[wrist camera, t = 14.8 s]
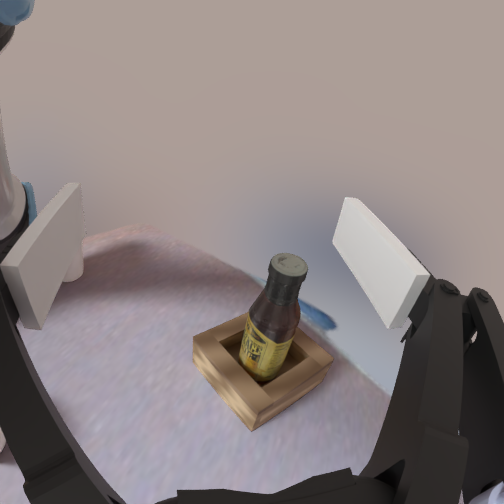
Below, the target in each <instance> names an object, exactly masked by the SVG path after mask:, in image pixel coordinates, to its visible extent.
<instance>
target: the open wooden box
mask: <svg viewBox="0 0 504 504" xmlns="http://www.w3.org/2000/svg"><path fill="white" fill-rule="evenodd" d="M248 313H249V312H247V313H245V314H243V315H241V316H239V317H236V318H234V319H232V320H230V321H227V322H225V323H223V324H221V325H218V326H216V327H214V328H212V329H209V330H207V331H205V332H202V333H200V334H198V335H196V336H193V363H194V364H195V366H196V367H197V368H198V369H199V371H200V372H201V373H202V374H203V376H204V377H205V378H206V379H207V381H208V382H209V383H210V384H211V386H212V387H213V388H214V389H215V390H216V392H217V393H218V394H219V395H220V396H221V398H222V399H223V400H224V401H225V402H226V404H227V405H228V406H229V407H230V408H231V409H232V411H233V412H234V413H235V414H236V415H237V416H238V417H239V418H240V420H241V421H242V422H243V423H244V424H245V425H246V426H247V427H248V429H249V430H250V431H251V432H252V431H253V430H255V429H256V428H258V427H259V426H261V425H262V424H264V423H265V422H267V421H268V420H270V419H271V418H273V417H274V416H276V415H277V414H279V413H280V412H282V411H283V410H284V409H286V408H287V407H289V406H290V405H291V404H293V403H294V402H296V401H297V400H298V399H300V398H301V397H302V396H304V395H305V394H306V393H308V392H309V391H310V390H312V389H313V388H314V387H316V386H317V385H318V384H320V383H321V382H322V380H323V378H324V377H325V375H326V373H327V371H328V369H329V368H330V366H331V364H332V362H333V360H334V358H333V357H332V356H331V355H329V354H328V353H327V352H326V351H325V350H324V349H322V348H321V347H320V346H319V345H318V344H317V343H315V342H314V341H313V340H312V339H311V338H310V337H308V336H307V335H306V334H305V333H304V332H303V331H301V330H300V329H299V328H298V327H297V328H296V332H295V335H294V338H293V340H292V343H291V345H290V347H289V350H288V352H287V355H286V357H285V360H284V362H283V364H282V367H281V369H280V371H279V373H278V375H277V377H276V378H275V379H273V380H272V381H271V382H269V383H267V384H262V385H260V384H257V383H256V382H255V381H254V380H253V379H252V378H251V377H250V376H249V375H248V374H247V373H246V371H245V370H244V369H243V368H242V367H241V366H240V365H239V364H238V358H239V353H240V349H241V344H242V339H243V335H244V330H245V326H246V322H247V317H248Z"/></svg>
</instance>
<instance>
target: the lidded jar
mask: <svg viewBox="0 0 504 504" xmlns="http://www.w3.org/2000/svg"><path fill="white" fill-rule="evenodd" d="M5 443H6V439H5V437H4V434H3V432H2V430H1V427H0V453H1V451H2V450H3V448H4V446H5Z"/></svg>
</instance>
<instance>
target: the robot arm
mask: <svg viewBox="0 0 504 504" xmlns="http://www.w3.org/2000/svg"><path fill="white" fill-rule="evenodd" d="M33 7H34V0H0V54H1V53H2V52H3V51H4V50H5V49H6V47H7V46H8V45H9V43H10V41H11V40H12V37H13V35H14V30H15V25H17V24H19V23H20V22H21V21H24V20H26V19H27V18H29V16H30V15H31V13H32V11H33ZM85 235H86V227H85V220H84V212H83V203H82V192H81V183H67V184H66V185H65V186H64V187H63V188H62V189H61V190H60V191H59V192H58V193H57V194H56V196H55V197H54V198H53V199H52V200H51V201H50V202H49V203H48V204H47V206H46V207H45V208H44V209H43V210H42V211H41V212H40V214H39V215H38V216H37V211H36V204H35V197H34V192H33V188H32V185H31V184H30V183H29V182H26V183H24V182H20V180H19V179H18V178H17V177H16V176H15V175H13V174H12V173H11V172H10V167H9V163H8V157H7V152H6V146H5V140H4V134H3V127H2V119H1V111H0V427H1V430H2V432H3V434H4V437H5V439H6V441H7V443H8V446H9V448H10V450H11V452H12V454H13V456H14V458H15V460H16V462H17V464H18V466H19V468H20V470H21V472H22V474H23V476H24V478H25V483H24V485H23V488H24V492H25V494H26V496H27V498H28V500H29V502H30V503H31V504H126V503H125V501H124V500H123V499H122V498H121V497H120V496H119V495H118V494H117V493H116V492H115V491H114V490H113V489H112V488H111V487H110V485H109V484H108V483H107V482H106V481H105V480H104V478H103V477H102V476H101V474H100V473H99V472H98V471H97V469H96V468H95V467H94V465H93V464H92V463H91V461H90V460H89V458H88V457H87V456H86V454H85V453H84V451H83V450H82V449H81V447H80V446H79V444H78V443H77V441H76V440H75V438H74V437H73V435H72V434H71V432H70V431H69V429H68V427H67V426H66V424H65V423H64V421H63V419H62V418H61V416H60V414H59V413H58V411H57V409H56V407H55V406H54V404H53V402H52V400H51V399H50V397H49V395H48V393H47V391H46V389H45V387H44V385H43V384H42V382H41V380H40V378H39V376H38V374H37V371H36V369H35V367H34V365H33V363H32V361H31V359H30V357H29V354H28V352H27V350H26V347H25V345H24V343H23V340H22V338H21V335H20V333H19V331H18V328H17V326H16V323H17V320H18V318H19V317H20V319H21V321H22V323H23V326H24V328H28V329H35V330H42V328H43V325H44V322H45V320H46V317H47V315H48V313H49V310H50V308H51V305H52V303H53V301H54V299H55V296H56V294H57V292H58V290H59V287H60V285H61V283H62V281H63V279H64V277H65V274H66V272H67V270H68V268H69V266H70V264H71V262H72V260H73V258H74V256H75V254H76V252H77V250H78V248H79V246H80V245H81V243H82V241H83V239H84V237H85ZM332 243H333V244H334V246H335V247H336V249H337V250H338V252H339V253H340V255H341V256H342V258H343V259H344V261H345V262H346V264H347V265H348V267H349V268H350V270H351V271H352V273H353V274H354V276H355V278H356V279H357V281H358V282H359V284H360V285H361V287H362V288H363V290H364V291H365V293H366V295H367V296H368V298H369V299H370V301H371V303H372V304H373V306H374V308H375V309H376V311H377V312H378V314H379V316H380V317H381V319H382V321H383V322H384V324H385V325H386V327H387V329H394V328H401V327H402V326H403V324H404V323H405V321H406V319H407V317H409V318H410V320H411V321H412V324H411V325H410V327H409V328H408V330H407V332H406V333H405V335H404V336H403V338H402V340H401V342H402V343H403V341H404V340H405V339H406V342H405V346H404V351H403V356H402V360H401V364H400V368H399V372H398V376H397V379H396V383H395V387H394V390H393V394H392V397H391V401H390V404H389V407H388V411H387V414H386V417H385V420H384V423H383V426H382V429H381V432H380V435H379V438H378V440H377V443H376V446H375V449H374V451H373V454H372V457H371V459H370V461H369V462H368V464H367V465H366V467H365V468H364V469H363V471H362V472H361V473H360V475H359V476H357V475H352V472H351V469H350V468H346V469H342V470H338V471H335V472H330V473H326V474H322V475H318V476H313V477H311V478H309V479H306V480H304V481H302V482H300V483H298V484H295V485H293V486H291V487H289V488H286V489H284V490H282V491H279V492H277V493H274V494H259V493H250V492H241V491H234V490H227V489H209V490H177V497H173V498H169V499H166V500H163V501H160V502H157V503H155V504H458V503H459V499H460V494H461V490H462V492H463V500H464V504H504V323H503V320H502V318H501V316H500V314H499V312H498V309H497V307H496V305H495V303H494V301H493V299H492V297H491V296H490V295H489V294H488V292H486V291H485V290H483V289H480V288H473V289H472V290H471V292H470V294H469V296H464V295H461V294H460V291H459V290H458V289H457V287H456V286H454V285H453V284H452V283H450V282H448V281H446V280H443V279H438V280H436V279H435V278H434V277H433V275H432V274H431V273H430V272H429V271H428V270H427V269H426V267H425V266H424V265H423V264H421V262H420V261H419V260H418V259H417V258H416V256H415V255H414V254H413V253H412V252H411V251H410V250H409V249H407V248H406V247H405V246H404V245H403V244H402V243H401V242H400V241H399V240H398V239H397V238H396V236H395V235H393V233H392V232H391V231H390V230H389V229H388V228H387V227H386V226H385V225H384V224H383V223H382V222H381V221H380V220H379V219H378V218H377V217H376V216H375V215H374V214H373V213H372V212H371V211H370V210H369V209H368V208H367V207H366V206H365V205H364V204H363V203H362V202H361V201H360V200H359V199H357V198H349V197H345V200H344V204H343V207H342V211H341V214H340V217H339V221H338V224H337V228H336V231H335V234H334V237H333V241H332ZM476 331H477V337H476V339H475V341H474V342H473V343H472V340H471V338H472V337H473V335H474V334H475V332H476ZM458 430H459V435H458Z"/></svg>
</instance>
